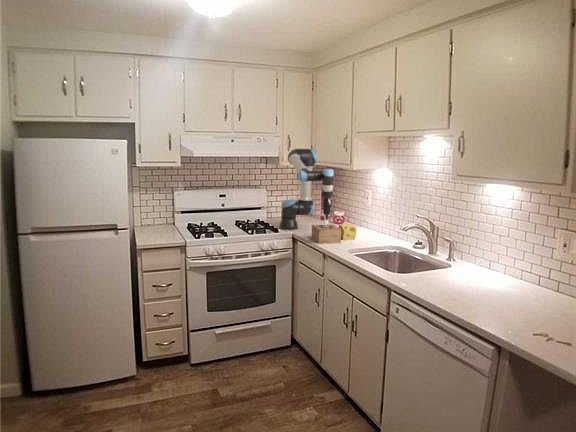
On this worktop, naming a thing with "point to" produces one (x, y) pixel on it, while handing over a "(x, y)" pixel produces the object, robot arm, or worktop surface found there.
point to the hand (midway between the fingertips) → (326, 223)
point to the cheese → (348, 232)
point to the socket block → (326, 234)
